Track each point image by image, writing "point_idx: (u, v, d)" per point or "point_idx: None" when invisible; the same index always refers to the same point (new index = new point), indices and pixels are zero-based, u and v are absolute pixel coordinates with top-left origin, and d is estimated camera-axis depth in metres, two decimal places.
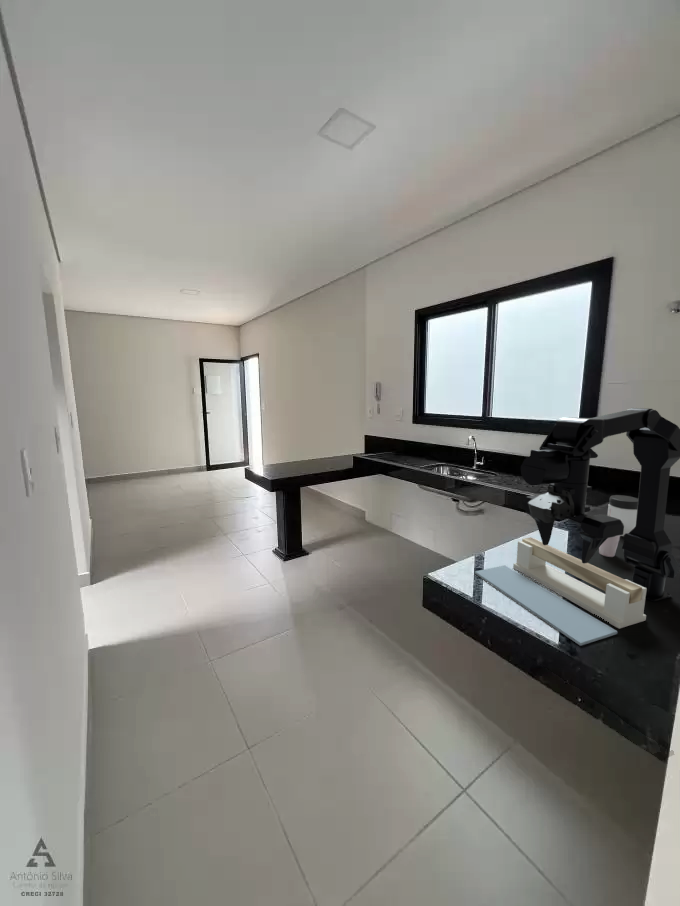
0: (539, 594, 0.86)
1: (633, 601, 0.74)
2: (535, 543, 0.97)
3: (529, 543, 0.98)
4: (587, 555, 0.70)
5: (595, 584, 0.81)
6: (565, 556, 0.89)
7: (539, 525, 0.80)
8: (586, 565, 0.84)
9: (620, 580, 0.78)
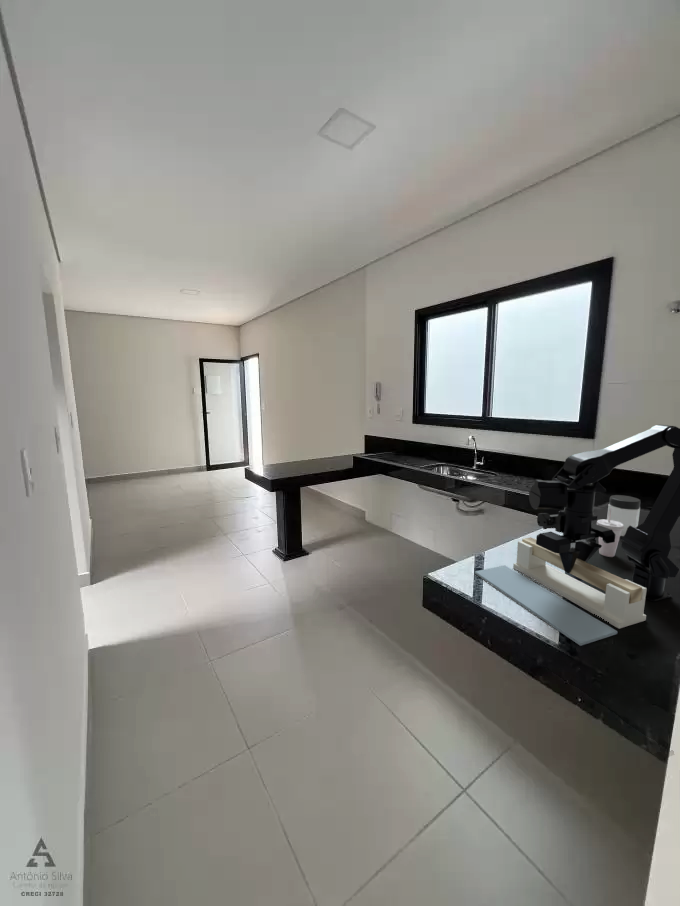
0: (539, 594, 0.86)
1: (633, 601, 0.74)
2: (535, 543, 0.97)
3: (529, 543, 0.98)
4: (563, 564, 0.87)
5: (595, 584, 0.81)
6: None
7: None
8: (586, 565, 0.84)
9: (620, 580, 0.78)
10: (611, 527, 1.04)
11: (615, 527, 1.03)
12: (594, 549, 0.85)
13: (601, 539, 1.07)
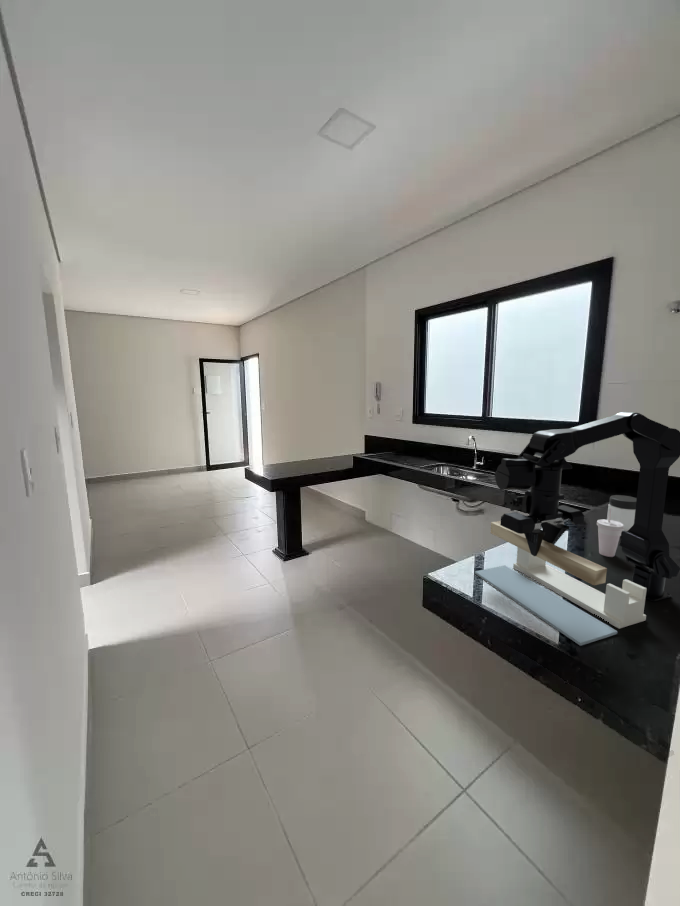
0: (539, 594, 0.86)
1: (597, 583, 0.70)
2: None
3: (497, 526, 0.93)
4: (529, 546, 0.83)
5: (560, 566, 0.77)
6: None
7: None
8: (552, 547, 0.80)
9: (585, 561, 0.73)
10: (611, 527, 1.04)
11: (615, 527, 1.03)
12: (561, 530, 0.80)
13: (601, 539, 1.07)
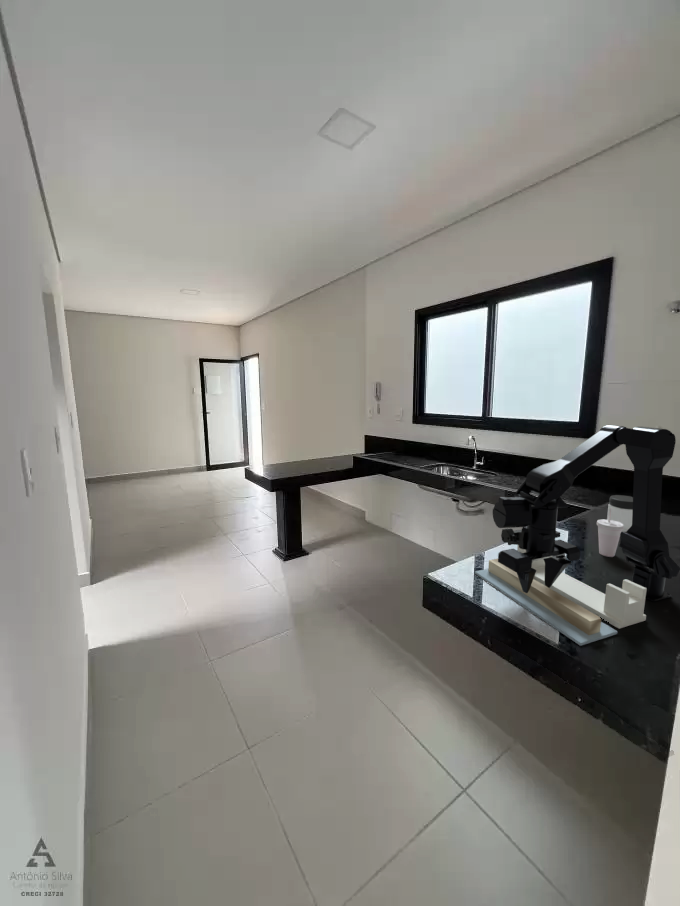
0: None
1: (592, 632, 0.72)
2: (501, 565, 0.94)
3: (495, 565, 0.95)
4: (521, 583, 0.83)
5: (556, 612, 0.78)
6: None
7: None
8: (548, 591, 0.82)
9: (580, 609, 0.75)
10: (611, 527, 1.04)
11: (615, 527, 1.03)
12: (563, 566, 0.82)
13: (601, 539, 1.07)
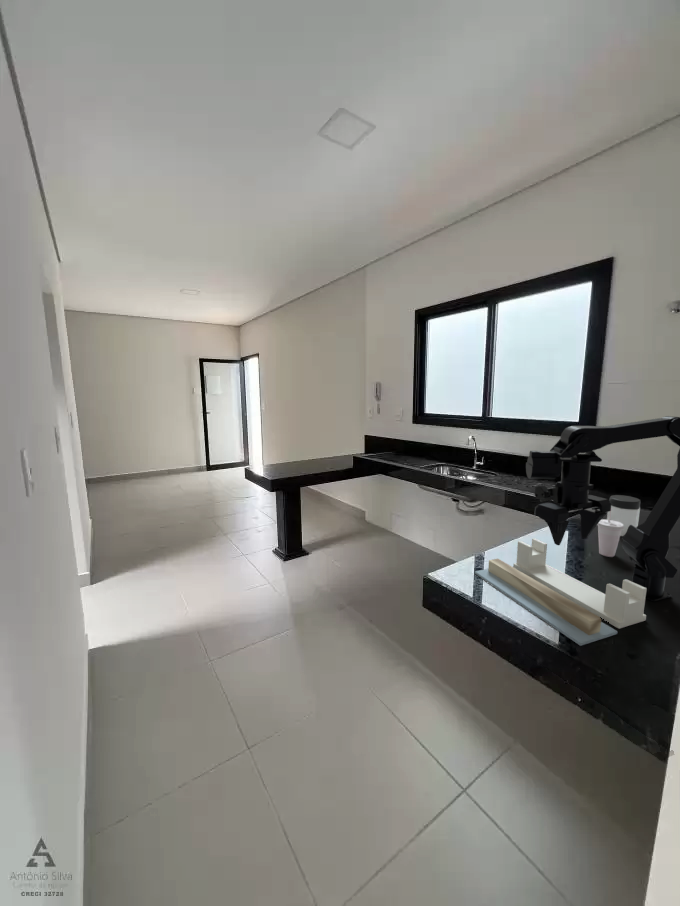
0: None
1: (592, 632, 0.72)
2: (501, 565, 0.94)
3: (495, 565, 0.95)
4: (553, 536, 0.88)
5: (556, 612, 0.78)
6: (529, 581, 0.86)
7: None
8: (548, 591, 0.82)
9: (580, 609, 0.75)
10: (611, 527, 1.04)
11: (615, 527, 1.03)
12: (600, 516, 0.88)
13: (601, 539, 1.07)
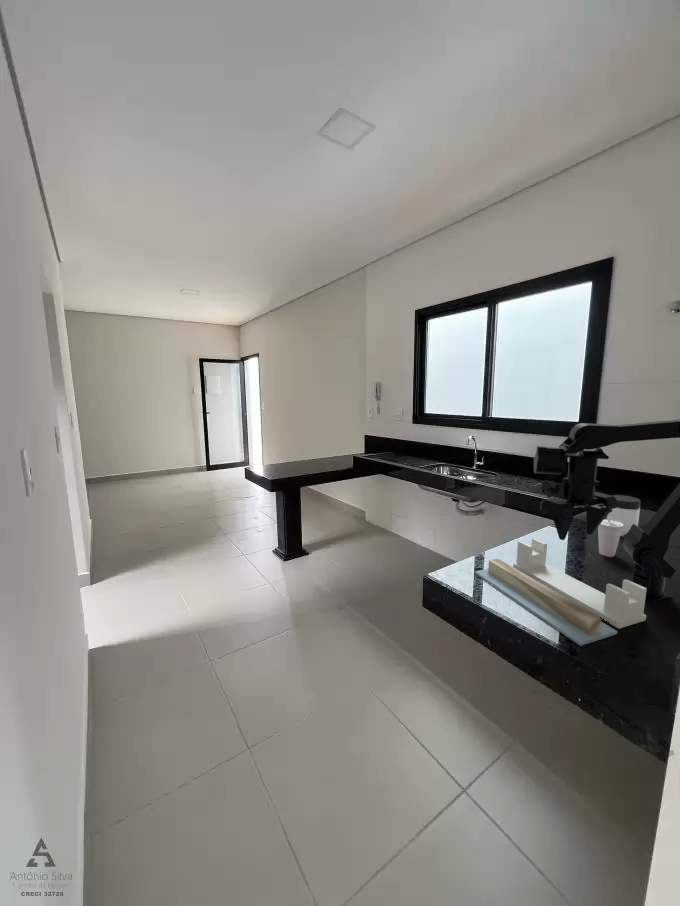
0: None
1: (592, 632, 0.72)
2: (501, 565, 0.94)
3: (495, 565, 0.95)
4: (558, 531, 0.89)
5: (556, 612, 0.78)
6: (529, 581, 0.86)
7: None
8: (548, 591, 0.82)
9: (580, 609, 0.75)
10: (611, 527, 1.04)
11: (615, 527, 1.03)
12: (605, 513, 0.89)
13: (601, 539, 1.07)
